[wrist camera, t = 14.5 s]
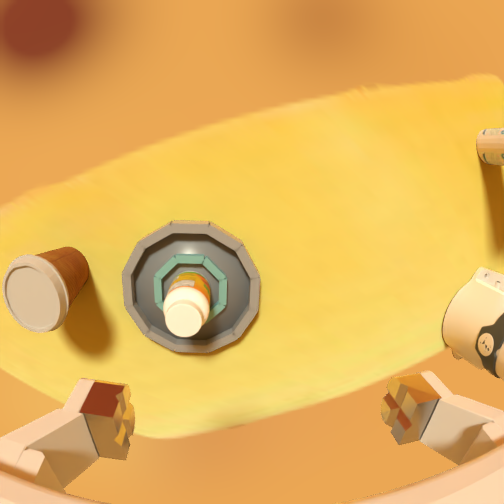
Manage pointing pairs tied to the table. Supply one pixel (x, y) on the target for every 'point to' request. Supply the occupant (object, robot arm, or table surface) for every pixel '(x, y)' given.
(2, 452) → the robot arm
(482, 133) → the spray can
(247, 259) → the round tray
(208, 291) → the supplement bottle
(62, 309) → the disposable coffee cup
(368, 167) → the table surface
